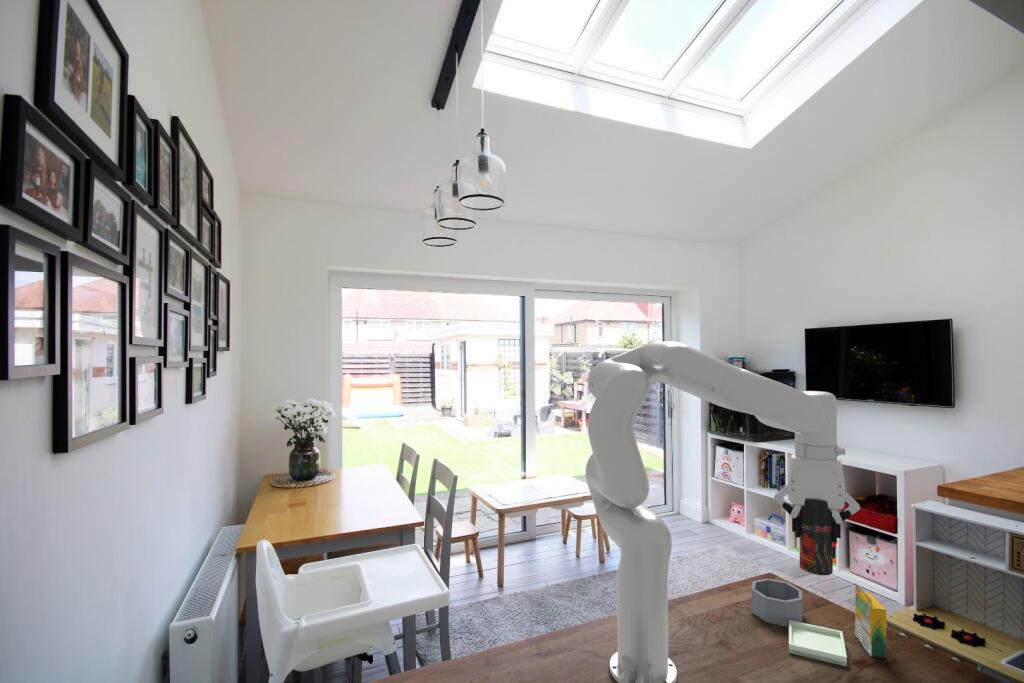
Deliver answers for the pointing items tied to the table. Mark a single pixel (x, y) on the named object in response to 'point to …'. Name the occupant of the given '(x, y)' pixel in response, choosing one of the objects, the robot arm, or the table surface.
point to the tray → (817, 643)
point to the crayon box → (870, 623)
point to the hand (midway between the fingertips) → (815, 537)
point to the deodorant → (816, 537)
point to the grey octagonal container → (777, 602)
